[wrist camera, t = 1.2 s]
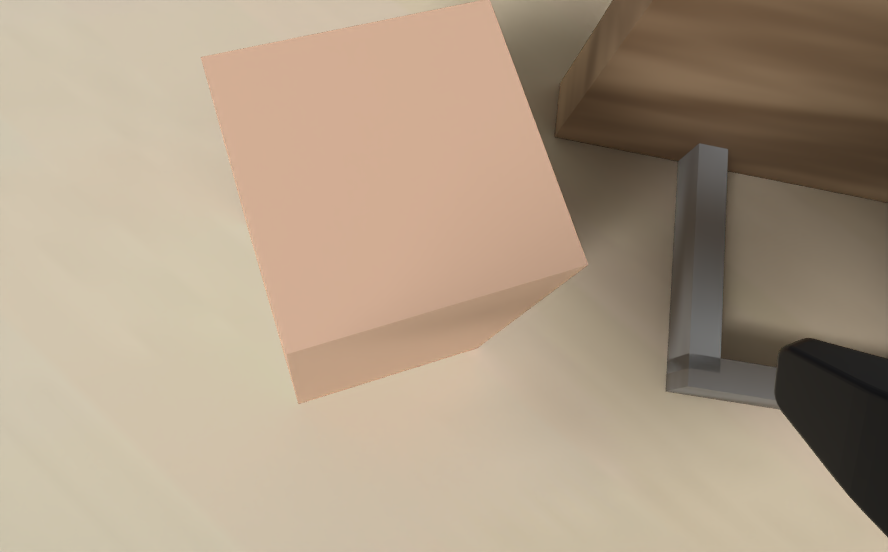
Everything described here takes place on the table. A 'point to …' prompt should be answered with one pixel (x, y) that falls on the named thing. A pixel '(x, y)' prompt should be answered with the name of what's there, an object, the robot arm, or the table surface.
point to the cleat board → (733, 132)
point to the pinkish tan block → (391, 191)
